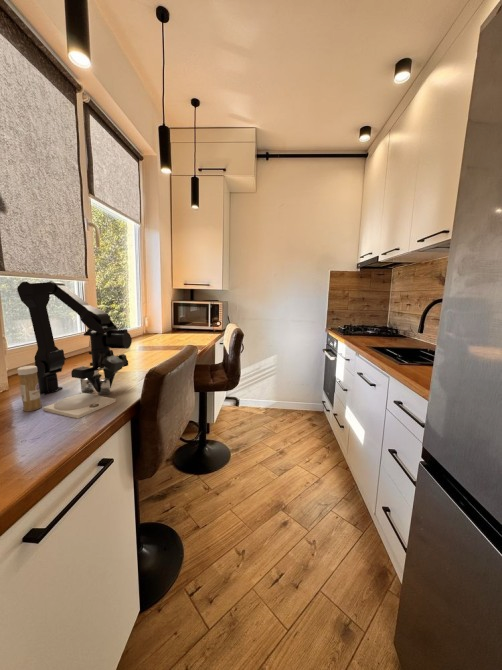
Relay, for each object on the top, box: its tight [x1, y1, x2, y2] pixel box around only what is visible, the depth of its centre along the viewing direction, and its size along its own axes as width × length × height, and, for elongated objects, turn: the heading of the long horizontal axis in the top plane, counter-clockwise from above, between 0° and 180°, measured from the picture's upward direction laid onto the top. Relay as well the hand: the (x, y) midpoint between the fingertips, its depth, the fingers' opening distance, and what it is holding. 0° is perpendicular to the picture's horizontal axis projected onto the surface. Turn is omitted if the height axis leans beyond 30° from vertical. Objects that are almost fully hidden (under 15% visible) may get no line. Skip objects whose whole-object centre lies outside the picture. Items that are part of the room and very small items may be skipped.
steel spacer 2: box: [97, 377, 111, 396], centre depth 94 cm, size 4×4×5 cm
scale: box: [42, 392, 116, 420], centre depth 84 cm, size 15×13×2 cm
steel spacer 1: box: [79, 378, 95, 394], centre depth 96 cm, size 4×4×5 cm
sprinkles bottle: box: [16, 365, 42, 412], centre depth 80 cm, size 5×5×14 cm
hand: (104, 390), depth 95 cm, fingers closed on steel spacer 2, 4 cm apart
